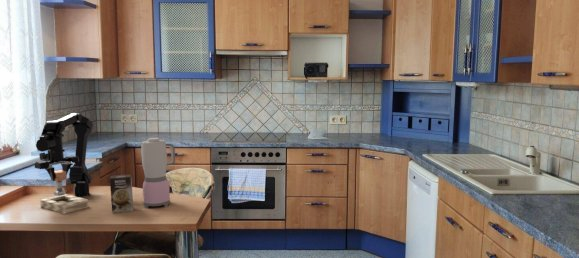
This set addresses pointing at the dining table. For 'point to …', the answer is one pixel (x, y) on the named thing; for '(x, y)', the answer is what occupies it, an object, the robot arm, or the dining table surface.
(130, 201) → the coffee box
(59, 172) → the wooden block metal peg
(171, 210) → the dining table surface
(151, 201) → the blender
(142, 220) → the dining table surface
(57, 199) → the keyhole box
